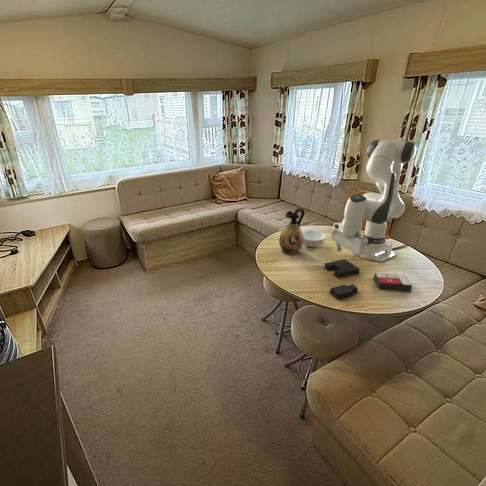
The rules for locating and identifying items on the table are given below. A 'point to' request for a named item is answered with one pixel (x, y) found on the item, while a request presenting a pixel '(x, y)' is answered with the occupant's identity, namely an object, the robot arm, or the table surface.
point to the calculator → (392, 281)
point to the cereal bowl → (313, 238)
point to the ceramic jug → (292, 233)
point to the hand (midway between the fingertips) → (345, 255)
